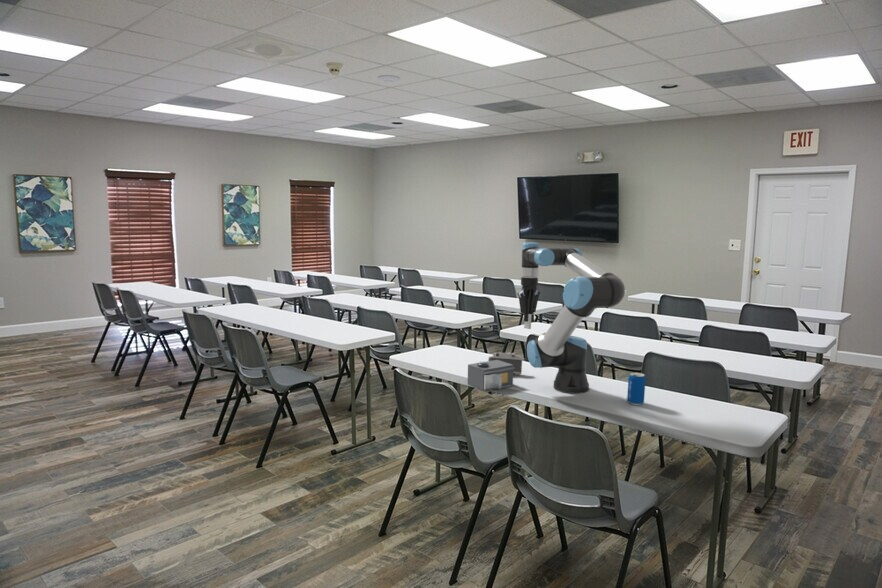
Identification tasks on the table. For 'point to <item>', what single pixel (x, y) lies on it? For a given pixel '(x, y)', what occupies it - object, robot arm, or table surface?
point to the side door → (493, 381)
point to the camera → (509, 360)
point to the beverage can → (636, 388)
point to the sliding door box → (490, 367)
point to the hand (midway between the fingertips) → (527, 328)
